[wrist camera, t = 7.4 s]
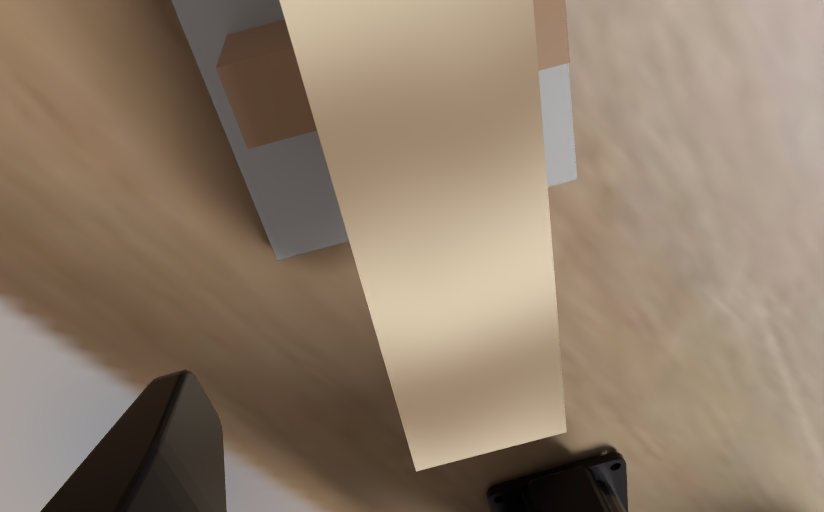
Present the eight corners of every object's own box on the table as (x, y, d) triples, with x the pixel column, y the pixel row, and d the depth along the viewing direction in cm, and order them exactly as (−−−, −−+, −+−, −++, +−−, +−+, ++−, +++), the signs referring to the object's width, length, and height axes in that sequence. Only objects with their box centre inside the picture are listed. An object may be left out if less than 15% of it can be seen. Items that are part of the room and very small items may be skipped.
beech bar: (519, 333, 20) (566, 432, 16) (394, 365, 20) (415, 471, 16) (413, -537, 10) (476, -733, 7) (158, -483, 10) (89, -655, 6)
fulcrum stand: (570, 171, 21) (616, 224, 18) (277, 250, 21) (275, 317, 18) (531, -294, 15) (594, -330, 12) (102, -183, 14) (53, -191, 11)
